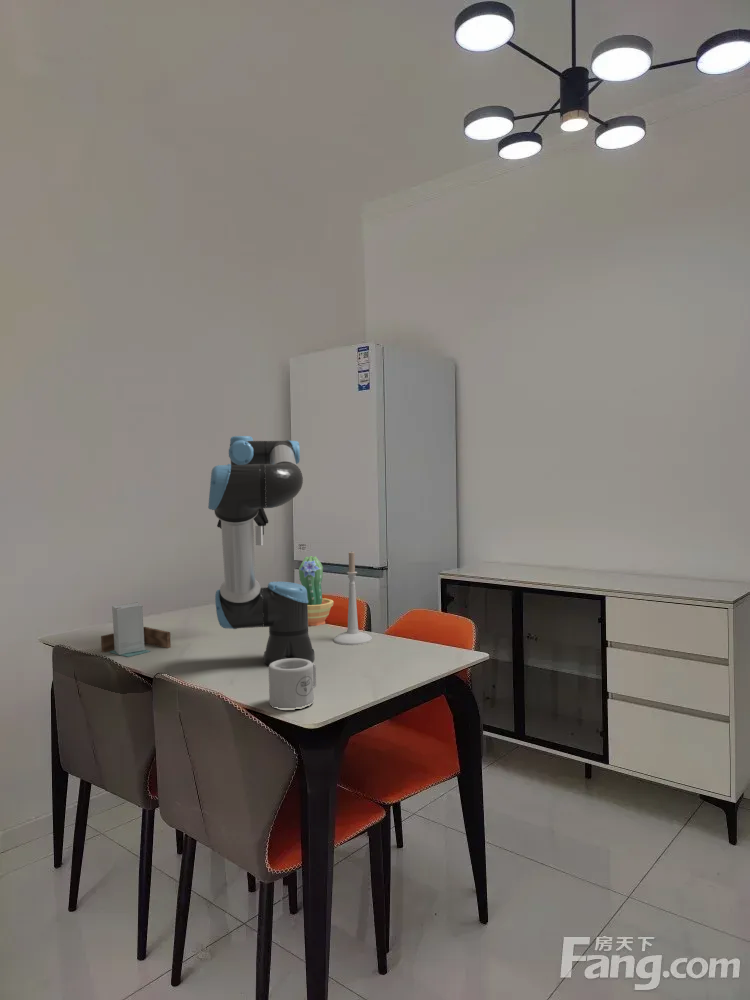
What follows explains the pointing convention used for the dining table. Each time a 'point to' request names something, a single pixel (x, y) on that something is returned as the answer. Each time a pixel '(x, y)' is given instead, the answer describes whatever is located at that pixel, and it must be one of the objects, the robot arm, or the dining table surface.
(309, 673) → the mug
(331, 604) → the potted cactus
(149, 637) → the wooden corner bracket
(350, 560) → the candlestick
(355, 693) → the dining table surface
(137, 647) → the skincare box
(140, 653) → the pad
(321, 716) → the dining table surface
